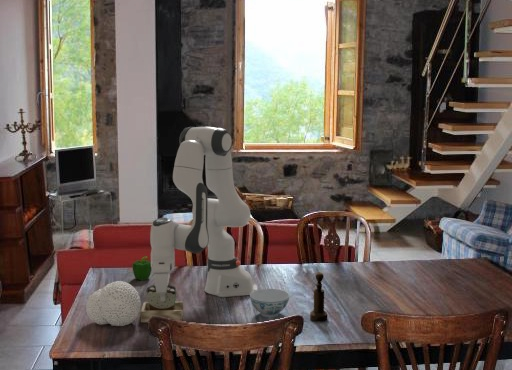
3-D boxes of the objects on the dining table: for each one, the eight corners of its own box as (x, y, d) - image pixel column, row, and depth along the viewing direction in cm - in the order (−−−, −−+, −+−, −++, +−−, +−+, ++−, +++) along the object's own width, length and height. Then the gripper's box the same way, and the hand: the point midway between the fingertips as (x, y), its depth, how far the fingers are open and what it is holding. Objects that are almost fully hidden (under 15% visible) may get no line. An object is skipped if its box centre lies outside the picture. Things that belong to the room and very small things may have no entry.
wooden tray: (183, 311, 265) (183, 301, 265) (181, 321, 255) (181, 310, 254) (143, 312, 264) (143, 302, 264) (141, 322, 254) (140, 311, 253)
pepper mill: (308, 316, 261) (309, 270, 258) (325, 315, 262) (326, 269, 259) (311, 322, 255) (312, 275, 252) (328, 321, 255) (329, 275, 252)
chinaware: (252, 307, 271) (252, 288, 270) (290, 308, 270) (290, 289, 269) (247, 320, 257) (247, 300, 255) (288, 322, 255) (288, 302, 254)
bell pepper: (133, 282, 302) (132, 260, 301) (132, 276, 310) (131, 255, 309) (152, 281, 304) (152, 259, 303) (151, 275, 312) (150, 254, 311)
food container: (182, 309, 262) (181, 284, 260) (177, 315, 256) (177, 289, 254) (151, 307, 264) (150, 282, 262) (145, 313, 258) (145, 287, 256)
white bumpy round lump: (151, 293, 260) (126, 266, 251) (146, 329, 246) (119, 301, 237) (107, 311, 266) (81, 285, 257) (101, 348, 252) (73, 321, 243)
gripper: (156, 254, 266) (157, 289, 269) (151, 269, 246) (152, 306, 248) (173, 254, 267) (173, 288, 269) (169, 269, 247) (170, 306, 249)
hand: (163, 297), depth 259 cm, fingers closed on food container, 5 cm apart
